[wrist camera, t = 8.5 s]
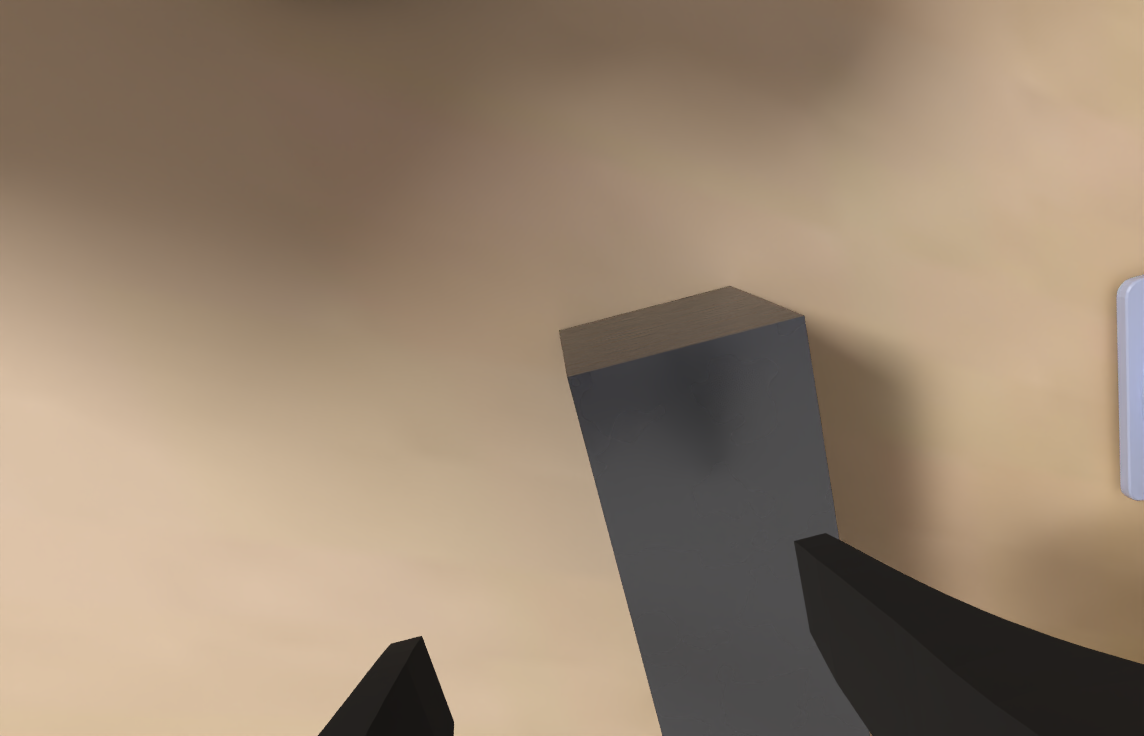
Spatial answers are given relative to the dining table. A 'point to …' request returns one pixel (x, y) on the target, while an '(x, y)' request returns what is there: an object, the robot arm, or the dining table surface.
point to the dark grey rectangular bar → (713, 506)
